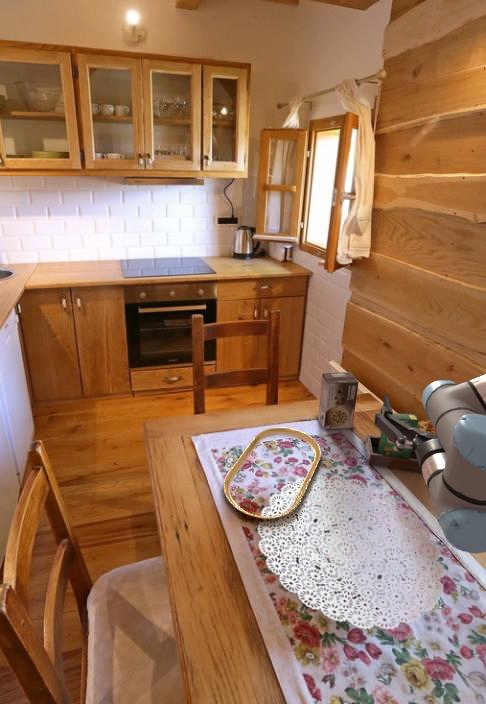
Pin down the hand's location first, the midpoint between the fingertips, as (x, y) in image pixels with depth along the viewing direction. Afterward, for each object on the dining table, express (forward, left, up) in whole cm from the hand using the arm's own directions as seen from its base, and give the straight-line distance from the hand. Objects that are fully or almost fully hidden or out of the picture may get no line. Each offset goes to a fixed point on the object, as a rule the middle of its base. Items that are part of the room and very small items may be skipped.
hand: (416, 405), depth 93 cm
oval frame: (+11, +29, -23) cm, 39 cm away
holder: (+9, -4, -23) cm, 25 cm away
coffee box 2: (+9, -4, -22) cm, 25 cm away
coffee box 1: (+27, +4, -23) cm, 36 cm away
